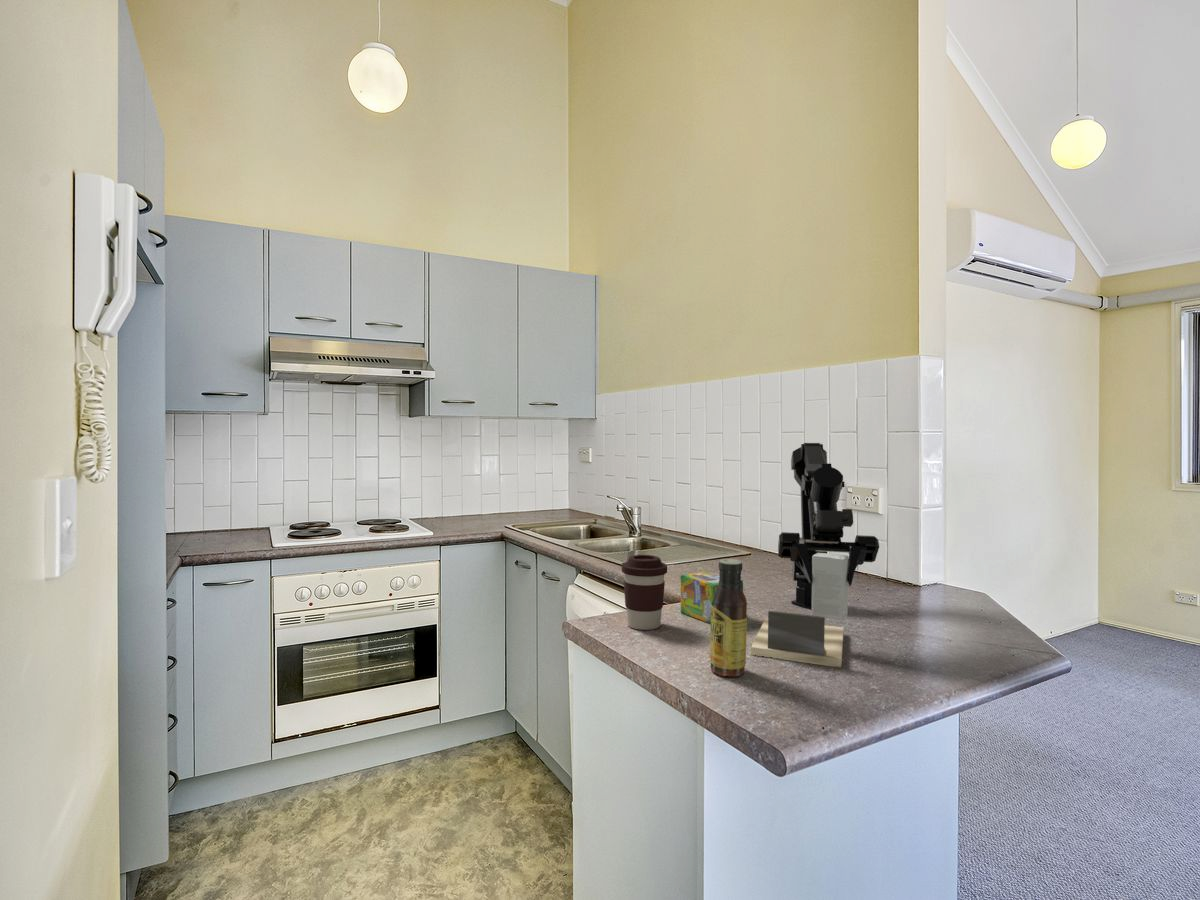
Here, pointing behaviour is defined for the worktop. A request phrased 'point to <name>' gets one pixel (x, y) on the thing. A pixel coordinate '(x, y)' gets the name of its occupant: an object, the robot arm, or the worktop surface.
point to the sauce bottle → (728, 622)
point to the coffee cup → (644, 591)
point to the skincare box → (830, 586)
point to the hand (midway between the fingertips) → (830, 583)
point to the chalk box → (699, 594)
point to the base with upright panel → (799, 639)
